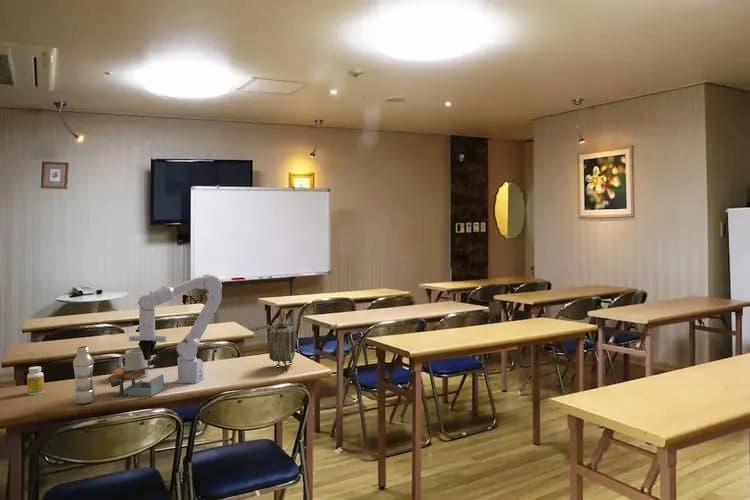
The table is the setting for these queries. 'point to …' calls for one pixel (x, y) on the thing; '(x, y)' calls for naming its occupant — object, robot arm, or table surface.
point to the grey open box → (147, 387)
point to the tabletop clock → (282, 342)
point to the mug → (134, 361)
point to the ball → (118, 372)
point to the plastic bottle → (83, 376)
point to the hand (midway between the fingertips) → (147, 359)
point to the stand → (122, 391)
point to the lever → (128, 375)
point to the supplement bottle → (35, 381)
